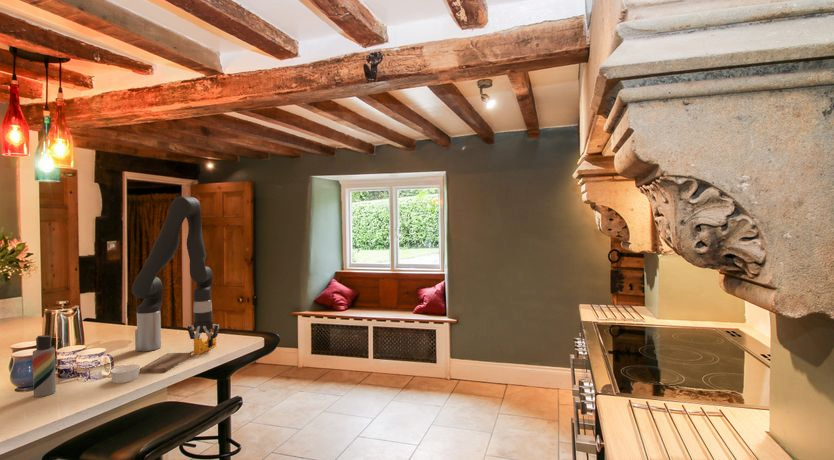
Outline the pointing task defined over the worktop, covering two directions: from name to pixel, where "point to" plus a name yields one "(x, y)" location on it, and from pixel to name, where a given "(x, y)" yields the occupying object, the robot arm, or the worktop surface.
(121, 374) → the ramekin
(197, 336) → the robot arm
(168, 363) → the bolt plate
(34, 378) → the lotion bottle
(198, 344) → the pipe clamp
